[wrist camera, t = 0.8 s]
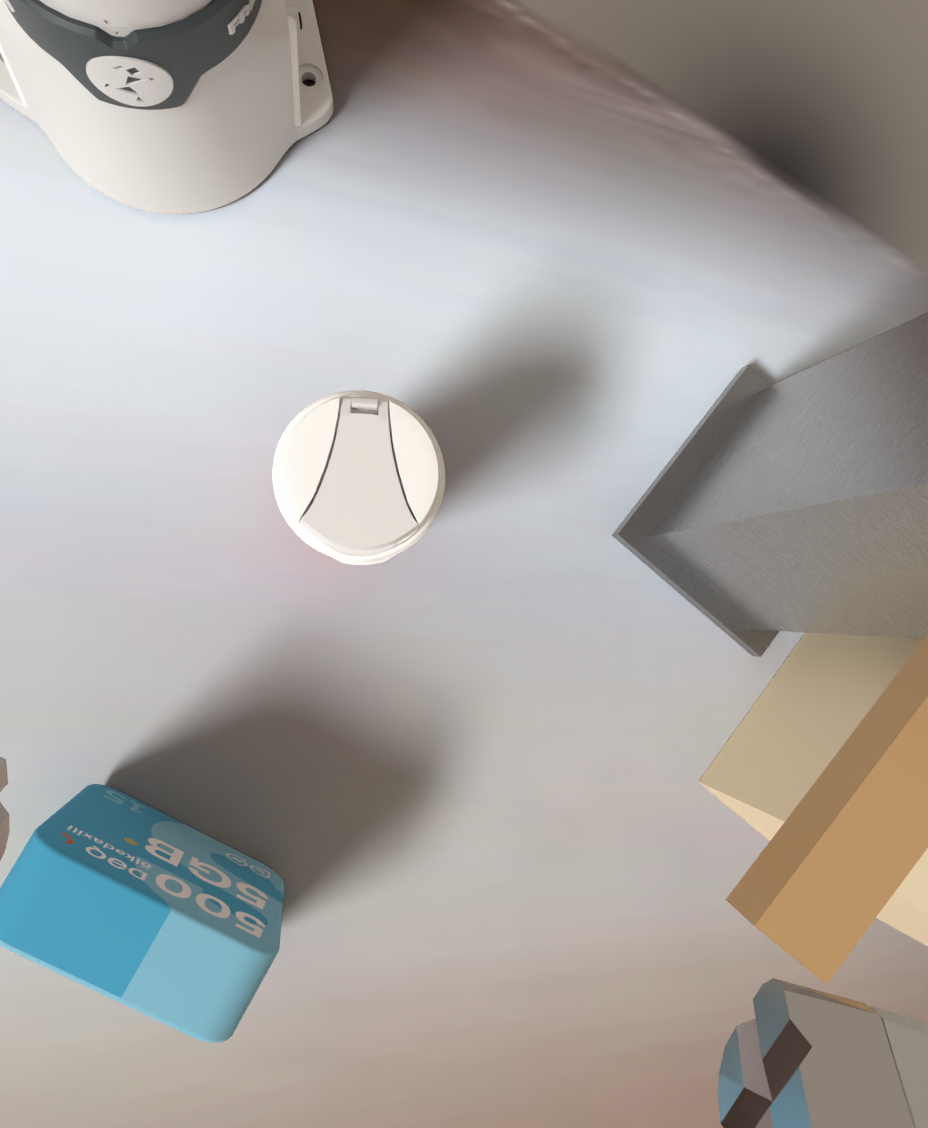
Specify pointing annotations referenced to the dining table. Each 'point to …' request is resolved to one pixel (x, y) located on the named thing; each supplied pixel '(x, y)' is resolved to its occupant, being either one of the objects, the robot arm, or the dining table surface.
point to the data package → (144, 912)
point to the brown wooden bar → (848, 833)
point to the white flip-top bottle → (358, 476)
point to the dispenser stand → (802, 500)
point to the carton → (814, 743)
